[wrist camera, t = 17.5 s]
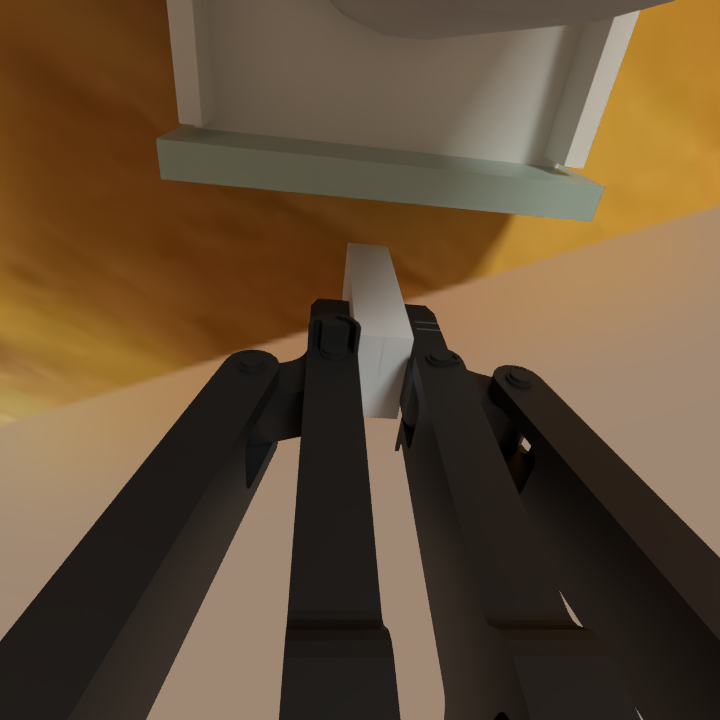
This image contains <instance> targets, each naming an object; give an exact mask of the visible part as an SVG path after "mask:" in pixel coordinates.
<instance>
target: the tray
mask: <svg viewBox="0 0 720 720" xmlns="http://www.w3.org/2000/svg"><path fill="white" fill-rule="evenodd" d="M166 1H167V11H168V21H169V30H170V40H171V50H172V60H173V70H174V79H175V89H176V99H177V109H178V119H179V124H184V125H182V126H180V127H178V128H176V129H174V130H172V131H170V132H168V133H166V134H164V135H162V136H160V137H158V138H156V145H157V152H158V160H159V168H160V176H161V179H164V180H174V181H184V182H194V183H204V184H214V185H225V186H235V187H245V188H255V189H265V190H275V191H285V192H296V193H306V194H316V195H326V196H336V197H346V198H356V199H367V200H377V201H387V202H397V203H407V204H417V205H427V206H438V207H448V208H458V209H468V210H478V211H488V212H499V213H509V214H519V215H529V216H539V217H549V218H559V219H570V220H580V221H590V222H591V221H592V219H593V216H594V214H595V211H596V209H597V206H598V203H599V201H600V198H601V196H602V193H603V191H604V188H605V187H604V186H602V185H600V184H598V183H596V182H594V181H592V180H590V179H588V178H586V177H584V176H582V175H580V174H578V173H576V172H574V171H572V170H570V169H568V168H566V167H575V168H583V167H584V165H585V162H586V159H587V156H588V154H589V151H590V148H591V145H592V143H593V140H594V137H595V134H596V131H597V129H598V126H599V123H600V120H601V118H602V115H603V112H604V109H605V107H606V104H607V101H608V98H609V96H610V93H611V90H612V87H613V84H614V82H615V79H616V76H617V73H618V71H619V68H620V65H621V62H622V60H623V57H624V54H625V51H626V48H627V46H628V43H629V40H630V37H631V35H632V32H633V29H634V26H635V24H636V21H637V18H638V15H639V12H640V10H639V11H635V12H631V13H628V14H624V15H621V16H617V17H613V18H610V19H606V20H603V21H599V22H592V23H583V24H573V25H564V26H554V27H544V28H535V29H525V30H516V31H506V32H496V33H487V34H477V35H468V36H458V37H448V38H439V39H429V40H425V39H416V38H406V37H396V36H386V35H382V34H380V33H378V32H377V31H375V30H373V29H371V28H369V27H367V26H365V25H363V24H361V23H359V22H357V21H356V20H354V19H352V18H350V17H348V16H346V15H344V14H342V13H341V12H340V11H339V10H338V9H337V7H336V6H335V5H334V4H333V3H332V2H331V1H330V0H166ZM564 166H566V167H564Z"/></svg>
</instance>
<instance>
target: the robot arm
mask: <svg viewBox="0 0 720 720" xmlns="http://www.w3.org/2000/svg"><path fill="white" fill-rule="evenodd" d="M399 407H401V412H402V418H401V423H400V427H399V432H398V437H397V441H396V446H395V451H399V448H400V445H401V444H402V449H403V456H404V461H405V467H406V473H407V479H408V484H409V490H410V496H411V502H412V508H413V513H414V519H415V525H416V531H417V536H418V542H419V548H420V553H421V559H422V565H423V571H424V577H425V582H426V588H427V593H428V600H429V606H430V611H431V617H432V623H433V629H434V634H435V640H436V646H437V652H438V658H439V663H440V669H441V675H442V680H443V687H444V694H445V715H444V720H641V719H640V717H639V715H638V713H637V710H638V712H639V713H640V715H641V717H642V718H643V720H720V558H719V557H718V556H717V554H715V552H714V551H712V549H710V548H709V546H707V544H706V543H705V542H704V541H703V540H702V539H700V537H699V536H698V535H697V534H696V533H695V532H694V531H693V530H692V529H691V528H690V527H689V526H688V525H687V524H686V523H685V522H684V521H683V520H682V519H680V517H679V516H677V514H676V513H675V512H673V510H672V509H671V508H670V507H669V506H668V505H667V504H666V503H665V502H664V501H663V500H662V499H661V498H660V497H659V496H658V495H657V494H656V493H655V492H654V491H653V490H652V489H651V488H650V487H649V486H648V485H647V484H646V483H645V482H644V481H643V480H642V479H641V478H640V477H639V476H638V475H637V474H636V473H635V472H634V471H633V470H632V469H631V468H630V467H629V466H628V465H627V464H626V463H625V462H624V461H623V460H622V459H621V458H620V457H619V456H618V455H617V454H616V453H615V452H614V451H613V450H612V449H611V448H610V447H609V446H608V445H607V444H606V443H605V442H604V441H603V440H602V439H601V438H600V437H599V436H598V435H597V434H596V433H595V432H594V431H593V430H592V429H591V428H590V427H589V426H588V425H587V424H586V423H585V422H584V421H583V420H582V419H581V418H580V417H579V416H578V415H577V414H576V413H575V412H574V411H573V410H572V409H571V408H570V407H569V406H568V405H567V404H566V403H565V402H564V401H563V400H562V399H561V398H560V397H559V396H558V395H557V394H556V393H555V392H554V391H553V390H552V389H551V388H550V387H549V386H548V385H547V384H546V383H545V382H544V381H543V380H542V379H541V378H540V377H539V376H537V375H536V374H535V373H534V372H532V371H530V370H527V369H526V368H523V367H519V366H513V365H504V366H501V367H498V368H497V369H496V370H495V371H494V373H493V376H492V377H489V376H486V375H481V374H478V373H474V372H472V371H469V370H467V369H466V366H465V364H464V362H463V360H462V359H461V358H460V356H459V355H457V354H456V353H454V352H453V351H450V350H448V349H447V346H446V343H445V340H444V338H443V335H442V333H441V331H440V328H439V325H438V324H437V320H436V317H435V315H434V313H433V312H432V311H430V310H429V309H428V308H427V307H426V306H421V305H408V304H404V302H403V298H402V295H401V291H400V288H399V284H398V281H397V277H396V274H395V270H394V267H393V263H392V260H391V256H390V253H389V249H388V246H381V245H370V244H359V243H348V245H347V255H346V265H345V275H344V285H343V295H342V300H330V299H317V300H316V301H315V302H314V303H313V304H312V305H311V316H310V323H309V330H308V348H307V351H306V353H305V354H304V355H303V356H301V357H300V358H298V359H296V360H293V361H289V362H284V363H279V362H278V360H277V358H276V357H275V356H273V355H272V354H271V353H267V352H265V351H261V350H245V351H240V352H237V353H234V354H232V355H231V356H230V357H228V358H227V359H226V360H225V361H224V363H223V364H222V365H221V366H220V368H219V369H218V370H217V371H216V373H215V374H214V375H213V376H212V378H211V379H210V380H209V381H208V383H207V384H206V385H205V386H204V388H203V389H202V390H201V391H200V393H199V394H198V395H197V396H196V398H195V399H194V400H193V401H192V403H191V404H190V405H189V406H188V408H187V409H186V410H185V411H184V413H183V414H182V415H181V416H180V418H179V419H178V420H177V421H176V423H175V424H174V425H173V426H172V428H171V429H170V430H169V431H168V432H167V434H166V435H165V436H164V438H163V439H162V440H161V441H160V442H159V444H158V445H157V446H156V447H155V449H154V450H153V451H152V453H151V454H150V455H149V456H148V457H147V459H146V460H145V461H144V462H143V464H142V465H141V466H140V467H139V469H138V470H137V471H136V473H135V474H134V475H133V476H132V478H131V479H130V480H129V481H128V483H127V484H126V485H125V486H124V487H123V489H122V490H121V491H120V492H119V494H118V495H117V496H116V498H115V499H114V500H113V501H112V503H111V504H110V505H109V506H108V507H107V509H106V510H105V511H104V512H103V514H102V515H101V516H100V517H99V519H98V520H97V521H96V522H95V524H94V525H93V526H92V528H91V529H90V530H89V531H88V532H87V534H86V535H85V536H84V537H83V539H82V540H81V541H80V542H79V544H78V545H77V546H76V547H75V549H74V550H73V551H72V552H71V554H70V555H69V556H68V557H67V559H66V560H65V561H64V562H63V564H62V565H61V566H60V567H59V569H58V570H57V571H56V572H55V574H54V575H53V576H52V577H51V579H50V580H49V581H48V582H47V584H46V585H45V586H44V587H43V589H42V590H41V591H40V592H39V594H38V595H37V596H36V597H35V599H34V600H33V601H32V602H31V604H30V605H29V606H28V607H27V609H26V610H25V611H24V613H23V614H22V615H21V616H20V617H19V619H18V620H17V621H16V622H15V624H14V625H13V626H12V628H11V629H10V630H9V631H8V632H7V634H6V635H5V636H4V637H3V639H2V640H1V641H0V720H146V718H147V716H148V714H149V712H150V710H151V708H152V706H153V704H154V702H155V699H156V698H157V696H158V693H159V691H160V689H161V687H162V685H163V683H164V681H165V679H166V677H167V675H168V673H169V671H170V668H171V666H172V664H173V662H174V660H175V658H176V656H177V654H178V652H179V650H180V648H181V646H182V644H183V641H184V639H185V637H186V635H187V633H188V631H189V629H190V627H191V625H192V623H193V621H194V618H195V616H196V614H197V612H198V610H199V608H200V606H201V604H202V602H203V600H204V598H205V596H206V594H207V592H208V590H209V587H210V585H211V583H212V581H213V579H214V577H215V575H216V573H217V571H218V569H219V567H220V565H221V563H222V561H223V558H224V556H225V554H226V552H227V550H228V548H229V546H230V544H231V542H232V540H233V538H234V535H235V534H236V531H237V529H238V527H239V525H240V523H241V521H242V519H243V517H244V515H245V513H246V511H247V509H248V507H249V504H250V502H251V500H252V498H253V496H254V494H255V492H256V490H257V488H258V486H259V484H260V482H261V480H262V477H263V475H264V473H265V471H266V469H267V467H268V465H269V463H270V461H271V459H272V457H273V454H274V452H275V451H276V448H277V444H278V441H281V440H286V439H291V438H296V437H301V442H300V455H299V469H298V482H297V496H296V509H295V523H294V535H293V536H294V537H293V549H292V563H291V576H290V589H289V602H288V615H287V627H286V635H285V647H284V660H283V673H282V687H281V700H280V713H279V720H400V711H399V702H398V692H397V683H396V673H395V663H394V655H393V648H392V641H391V637H390V633H389V630H388V629H387V628H386V627H385V626H384V624H383V620H382V614H381V603H380V592H379V582H378V570H377V560H376V548H375V537H374V526H373V516H372V504H371V493H370V483H369V471H368V460H367V449H366V438H365V428H364V417H370V418H371V417H372V418H390V419H397V416H398V412H399ZM524 437H525V439H526V440H527V441H528V442H529V444H530V445H531V448H530V450H529V451H527V450H526V449H525V448H524V447H523V446H522V445H521V443H522V441H523V439H524ZM559 591H560V592H561V594H562V595H563V597H564V598H565V600H566V601H567V603H568V605H569V606H570V607H571V609H572V611H573V612H574V614H575V615H576V617H577V618H578V620H579V621H580V623H581V624H582V626H583V627H581V626H578V625H577V624H576V623H575V622H574V621H573V620H572V618H571V616H570V615H569V613H568V611H567V608H566V606H565V604H564V601H563V599H562V596H561V594H560V592H559ZM635 707H636V708H635ZM636 709H637V710H636Z"/></svg>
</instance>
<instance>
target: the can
mask: <svg viewBox="0 0 720 720" xmlns="http://www.w3.org/2000/svg"><path fill="white" fill-rule="evenodd" d="M330 1H331V2H332V3H333V4H334V5H335V6H336V7H337V9H338V10H339V11H340V12H341V13H342V14H344V15H346V16H348V17H350V18H352V19H354V20H356V21H357V22H359V23H361V24H363V25H365V26H367V27H369V28H371V29H373V30H375V31H377V32H378V33H380V34H382V35H386V36H396V37H406V38H416V39H425V40H429V39H439V38H448V37H458V36H468V35H477V34H487V33H496V32H506V31H516V30H525V29H535V28H544V27H554V26H564V25H573V24H583V23H592V22H599V21H603V20H606V19H610V18H613V17H617V16H621V15H624V14H628V13H631V12H635V11H639V10H642V9H646V8H649V7H653V6H656V5H660V4H664V3H667V2H671V1H674V0H330Z"/></svg>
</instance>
